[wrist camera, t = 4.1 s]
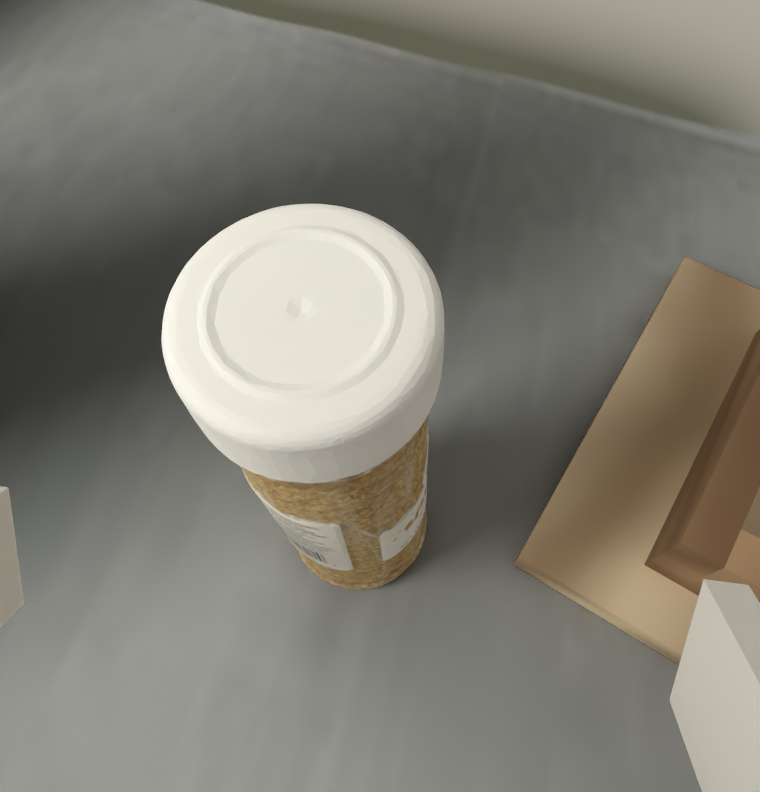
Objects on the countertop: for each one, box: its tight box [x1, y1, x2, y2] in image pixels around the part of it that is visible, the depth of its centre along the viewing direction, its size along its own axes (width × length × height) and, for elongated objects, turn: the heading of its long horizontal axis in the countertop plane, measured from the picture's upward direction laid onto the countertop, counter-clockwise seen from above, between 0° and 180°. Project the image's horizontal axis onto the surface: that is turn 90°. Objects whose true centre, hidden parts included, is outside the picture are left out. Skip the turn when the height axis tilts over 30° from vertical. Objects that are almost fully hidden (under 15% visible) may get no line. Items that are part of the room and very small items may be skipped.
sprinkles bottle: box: [161, 204, 445, 590], centre depth 17 cm, size 5×5×13 cm
